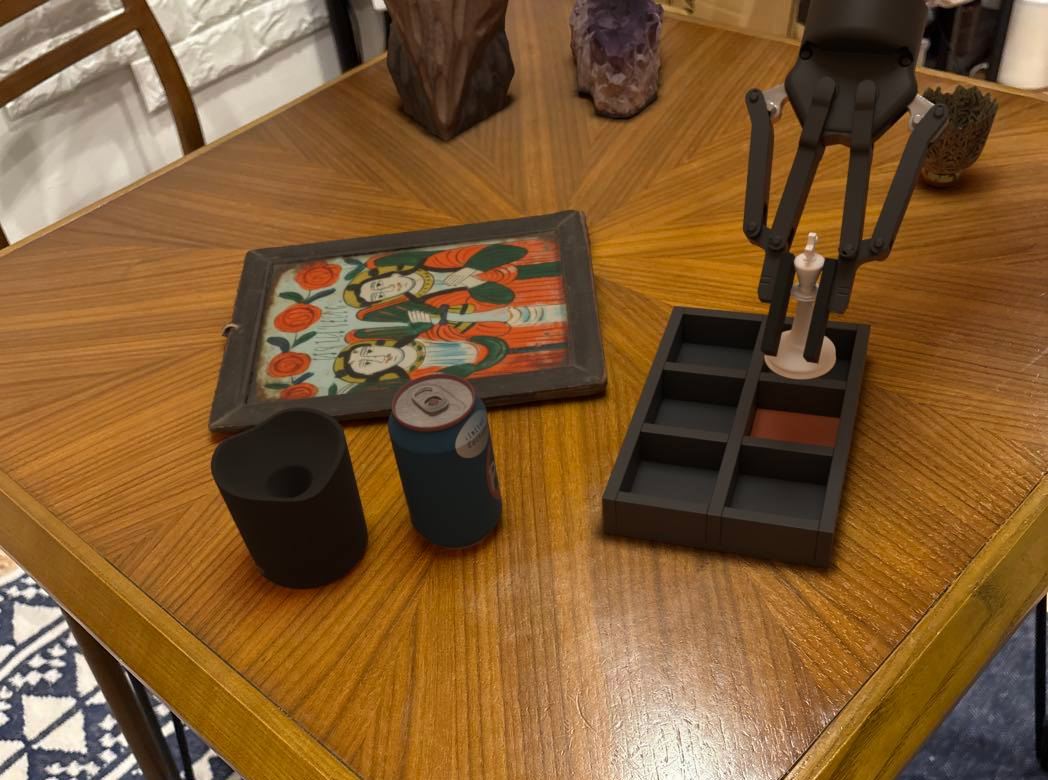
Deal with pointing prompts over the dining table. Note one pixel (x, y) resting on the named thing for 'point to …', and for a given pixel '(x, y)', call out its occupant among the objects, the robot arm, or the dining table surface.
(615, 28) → the geode
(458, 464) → the soda can
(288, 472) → the pen holder
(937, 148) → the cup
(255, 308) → the painting
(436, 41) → the owl
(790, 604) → the dining table surface
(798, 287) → the chess piece
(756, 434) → the grid
